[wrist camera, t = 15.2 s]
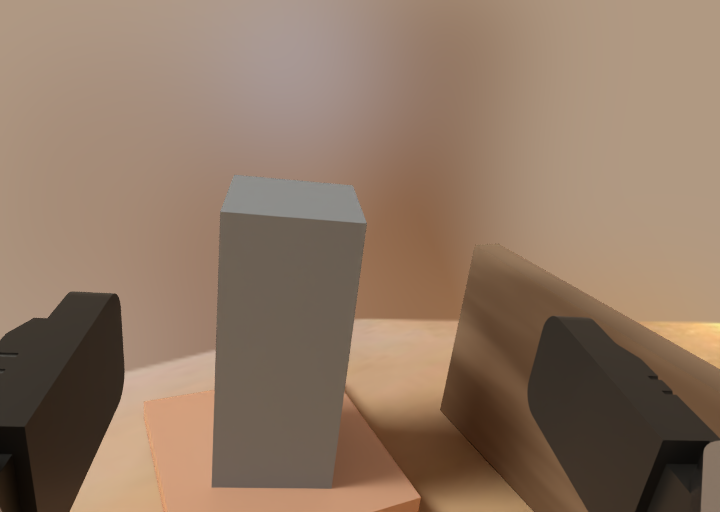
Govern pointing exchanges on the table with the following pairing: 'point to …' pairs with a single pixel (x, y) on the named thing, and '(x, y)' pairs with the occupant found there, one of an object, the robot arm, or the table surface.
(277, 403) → the slate block
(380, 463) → the terracotta tile
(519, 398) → the walnut screen
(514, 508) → the table surface
